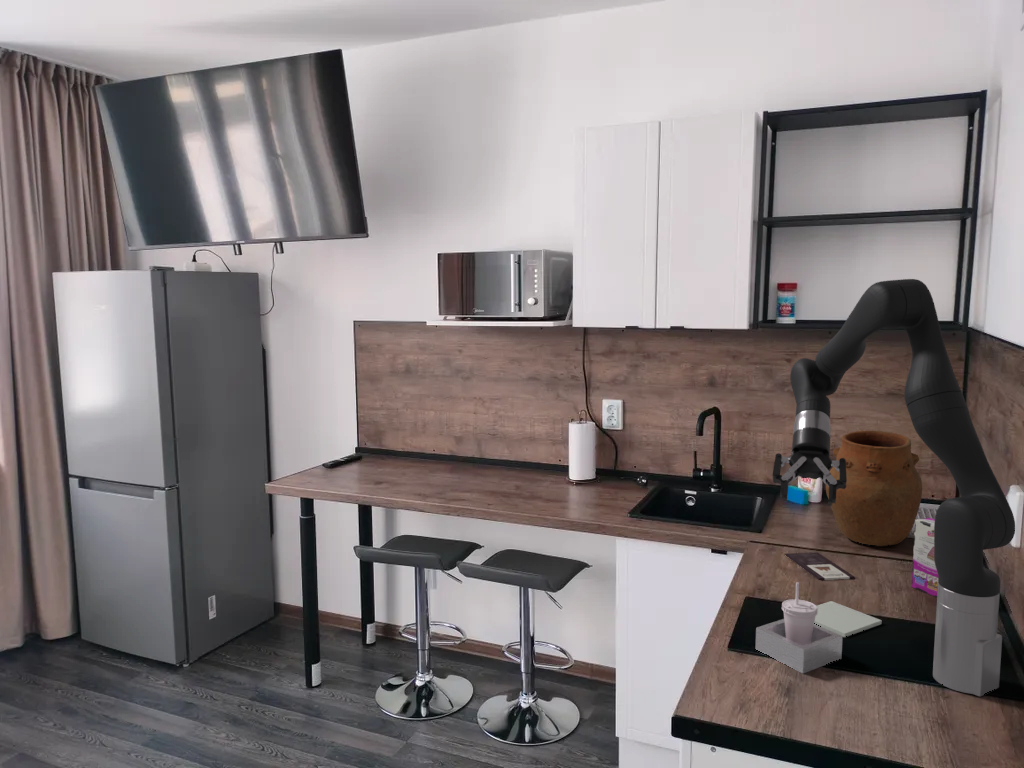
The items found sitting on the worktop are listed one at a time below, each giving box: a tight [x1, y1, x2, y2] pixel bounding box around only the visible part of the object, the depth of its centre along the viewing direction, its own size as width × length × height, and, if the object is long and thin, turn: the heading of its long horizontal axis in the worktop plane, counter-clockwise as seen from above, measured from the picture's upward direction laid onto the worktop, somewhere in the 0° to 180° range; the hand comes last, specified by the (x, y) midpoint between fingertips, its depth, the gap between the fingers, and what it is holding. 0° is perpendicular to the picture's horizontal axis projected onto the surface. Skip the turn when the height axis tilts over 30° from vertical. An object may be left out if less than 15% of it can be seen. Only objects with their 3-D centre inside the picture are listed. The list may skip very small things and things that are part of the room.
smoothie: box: [781, 581, 818, 646], centre depth 144 cm, size 6×6×14 cm
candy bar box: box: [911, 517, 938, 598], centre depth 173 cm, size 11×5×16 cm, turn 21°
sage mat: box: [814, 600, 882, 638], centre depth 161 cm, size 12×12×1 cm
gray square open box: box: [755, 618, 843, 674], centre depth 145 cm, size 11×11×4 cm
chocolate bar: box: [784, 552, 856, 581], centre depth 192 cm, size 9×1×18 cm
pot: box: [825, 430, 923, 547], centre depth 211 cm, size 24×24×30 cm
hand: (807, 501), depth 155 cm, fingers open, 8 cm apart
